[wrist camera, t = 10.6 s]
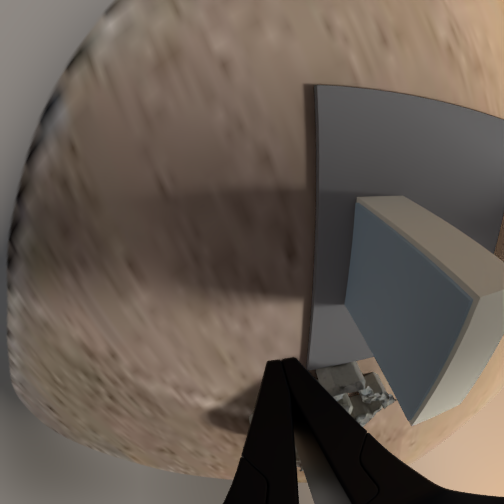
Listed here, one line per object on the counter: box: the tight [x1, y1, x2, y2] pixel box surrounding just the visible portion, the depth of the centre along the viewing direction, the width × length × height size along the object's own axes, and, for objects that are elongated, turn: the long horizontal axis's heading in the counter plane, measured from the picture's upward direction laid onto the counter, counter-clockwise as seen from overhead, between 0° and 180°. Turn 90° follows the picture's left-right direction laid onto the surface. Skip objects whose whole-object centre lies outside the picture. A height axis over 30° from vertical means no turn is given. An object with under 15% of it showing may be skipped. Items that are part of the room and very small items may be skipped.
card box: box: [344, 196, 504, 426], centre depth 10 cm, size 3×6×8 cm, turn 3°
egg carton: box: [243, 361, 396, 471], centre depth 19 cm, size 11×8×4 cm
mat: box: [306, 85, 504, 371], centre depth 14 cm, size 14×16×1 cm
